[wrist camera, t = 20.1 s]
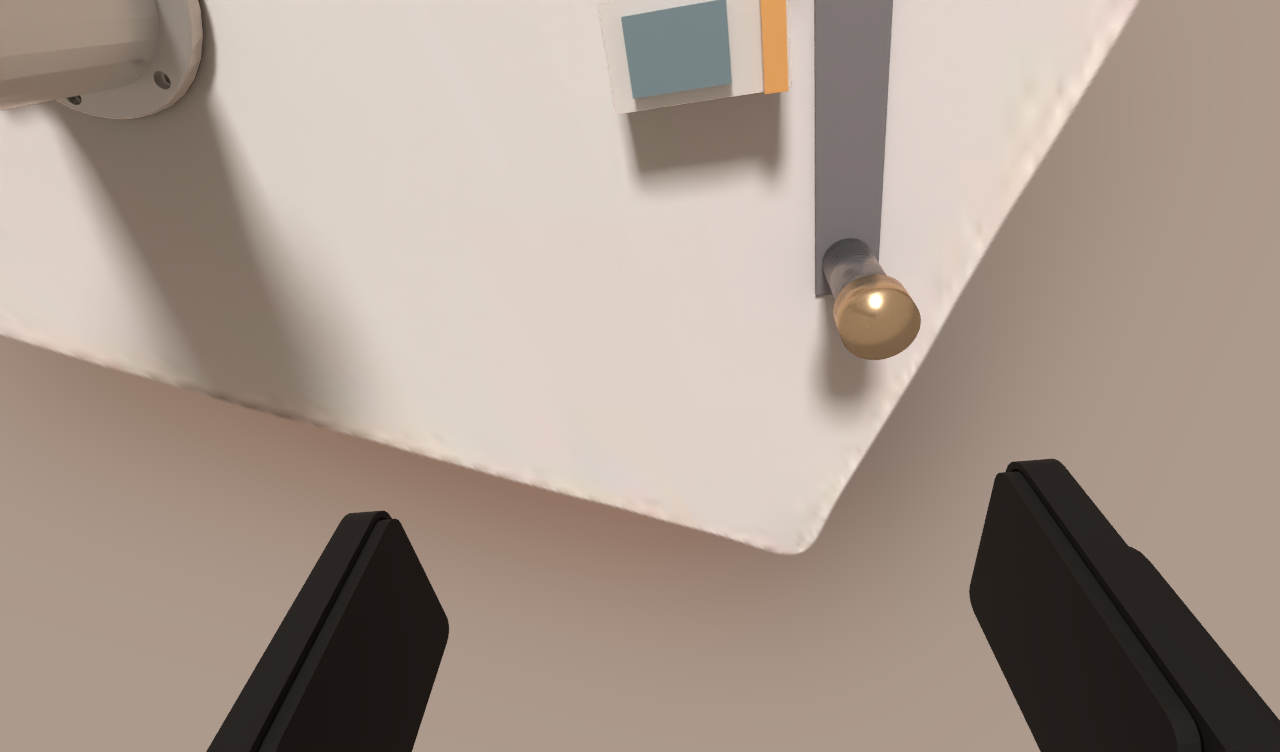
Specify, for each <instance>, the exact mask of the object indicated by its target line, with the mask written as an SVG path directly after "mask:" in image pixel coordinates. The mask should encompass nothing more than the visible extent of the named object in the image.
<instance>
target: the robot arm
mask: <svg viewBox="0 0 1280 752" xmlns="http://www.w3.org/2000/svg"><path fill="white" fill-rule="evenodd" d="M202 43H203V30H202V19H201V10H200V6H199V2H198V0H0V110H5V109H11V108H16V107H21V106H26V105H31V104H37V103H42V102H47V101H52V100H55V101H57V102H59V103H61V104H63V105H65V106H67V107H69V108H71V109H74V110H77V111H80V112H83V113H86V114H89V115H92V116H96V117H102V118H109V119H135V118H139V117H143V116H147V115H151V114H155V113H157V112H160V111H162V110H164V109H166V108H168V107H170V106H172V105H173V104H174V103H175V102H177V101H178V100H179V99H180V98H181V97H182V96H183V95H185V93H186V92H187V90H188V88H189V87H190V85H191V84H192V82H193V81H194V79H195V76H196V73H197V70H198V67H199V64H200V61H201V54H202ZM969 593H970V600H971V605H972V608H973V611H974V613H975V615H976V617H977V619H978V622H979V624H980V626H981V628H982V630H983V632H984V634H985V636H986V638H987V640H988V642H989V644H990V647H991V649H992V651H993V653H994V655H995V657H996V659H997V661H998V663H999V665H1000V668H1001V670H1002V671H1003V674H1004V676H1005V678H1006V680H1007V682H1008V684H1009V686H1010V688H1011V690H1012V692H1013V695H1014V697H1015V699H1016V701H1017V703H1018V705H1019V707H1020V709H1021V711H1022V713H1023V715H1024V718H1025V720H1026V722H1027V724H1028V726H1029V728H1030V730H1031V732H1032V734H1033V736H1034V738H1035V741H1036V743H1037V745H1038V747H1039V749H1040V751H1041V752H1280V720H1279V719H1278V718H1277V717H1276V715H1275V714H1274V713H1273V712H1272V711H1271V709H1270V708H1269V707H1268V706H1267V704H1266V703H1265V702H1264V701H1263V699H1262V698H1261V697H1260V696H1259V695H1258V693H1257V692H1256V691H1255V690H1254V689H1253V687H1252V686H1251V685H1250V683H1249V682H1248V681H1247V680H1246V679H1245V677H1244V676H1243V675H1242V674H1241V673H1240V671H1239V670H1238V669H1237V668H1236V666H1235V665H1234V664H1233V663H1232V662H1231V660H1230V659H1229V658H1228V657H1227V655H1226V654H1225V653H1224V652H1223V650H1222V649H1221V648H1220V647H1219V646H1218V644H1217V643H1216V642H1215V641H1214V639H1213V638H1212V637H1211V636H1210V634H1209V633H1208V632H1207V631H1206V630H1205V628H1204V627H1203V626H1202V625H1201V623H1200V622H1199V621H1198V620H1197V618H1196V617H1195V616H1194V615H1193V614H1192V612H1191V611H1190V610H1189V609H1188V607H1187V606H1186V605H1185V604H1184V603H1183V601H1182V600H1181V599H1180V598H1179V596H1178V595H1177V594H1176V593H1175V591H1174V590H1173V589H1172V588H1171V587H1170V585H1169V584H1168V583H1167V582H1166V580H1165V579H1164V578H1163V577H1162V576H1161V574H1160V573H1159V572H1158V571H1157V569H1156V568H1155V567H1154V566H1153V565H1152V564H1151V562H1150V561H1149V560H1148V559H1147V558H1146V557H1145V556H1144V555H1143V554H1142V553H1141V552H1139V551H1137V550H1136V549H1134V548H1132V547H1129V546H1128V545H1127V544H1126V543H1125V541H1124V540H1123V539H1122V538H1121V536H1120V535H1119V534H1118V533H1117V531H1116V530H1115V529H1114V528H1113V526H1112V525H1111V524H1110V523H1109V521H1108V520H1107V519H1106V518H1105V516H1104V515H1103V514H1102V513H1101V511H1100V510H1099V509H1098V508H1097V506H1096V505H1095V504H1094V503H1093V501H1092V500H1091V499H1090V498H1089V496H1088V495H1087V494H1086V493H1085V492H1084V490H1083V489H1082V488H1081V486H1080V485H1079V484H1078V483H1077V481H1076V480H1075V479H1074V478H1073V476H1072V475H1071V474H1070V473H1069V471H1068V470H1067V469H1066V468H1065V466H1064V465H1063V464H1062V463H1060V462H1059V461H1058V460H1055V459H1044V460H1033V461H1018V462H1011V463H1010V464H1009V465H1008V467H1007V469H1006V472H1004V473H998V474H997V475H996V478H995V481H994V485H993V490H992V494H991V498H990V502H989V507H988V511H987V515H986V519H985V524H984V528H983V533H982V536H981V541H980V545H979V549H978V554H977V558H976V562H975V566H974V571H973V575H972V579H971V584H970V590H969ZM448 634H449V624H448V619H447V617H446V615H445V612H444V610H443V608H442V606H441V604H440V602H439V600H438V598H437V596H436V594H435V592H434V590H433V588H432V586H431V584H430V582H429V580H428V578H427V576H426V574H425V571H424V569H423V567H422V565H421V564H420V561H419V559H418V557H417V555H416V553H415V551H414V549H413V547H412V545H411V543H410V541H409V539H408V537H407V535H406V533H405V531H404V529H403V527H402V525H401V523H400V522H399V520H397V519H392V518H391V517H390V515H389V514H388V513H387V512H385V511H374V512H361V513H350V514H348V515H346V516H345V517H344V518H343V519H342V521H341V522H340V524H339V525H338V527H337V529H336V531H335V532H334V534H333V536H332V538H331V539H330V541H329V543H328V544H327V546H326V548H325V550H324V551H323V553H322V555H321V556H320V558H319V560H318V561H317V563H316V565H315V567H314V568H313V570H312V572H311V574H310V575H309V577H308V579H307V580H306V582H305V584H304V585H303V587H302V589H301V591H300V592H299V594H298V596H297V597H296V599H295V601H294V603H293V604H292V606H291V608H290V609H289V611H288V613H287V615H286V616H285V618H284V620H283V621H282V623H281V625H280V627H279V628H278V630H277V632H276V633H275V635H274V637H273V639H272V640H271V642H270V644H269V645H268V647H267V649H266V651H265V652H264V654H263V656H262V657H261V659H260V661H259V663H258V664H257V666H256V668H255V670H254V671H253V673H252V675H251V676H250V678H249V680H248V682H247V683H246V685H245V687H244V688H243V690H242V692H241V693H240V695H239V697H238V699H237V700H236V702H235V704H234V705H233V707H232V709H231V711H230V712H229V714H228V716H227V717H226V719H225V721H224V722H223V724H222V726H221V728H220V729H219V731H218V733H217V734H216V736H215V738H214V740H213V741H212V743H211V745H210V746H209V748H208V750H207V752H412V749H413V746H414V743H415V740H416V737H417V734H418V730H419V727H420V724H421V721H422V718H423V715H424V712H425V709H426V706H427V702H428V699H429V696H430V693H431V690H432V687H433V684H434V681H435V678H436V674H437V672H438V668H439V665H440V662H441V659H442V656H443V653H444V649H445V647H446V644H447V639H448Z"/></svg>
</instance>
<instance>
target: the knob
mask: <svg viewBox="0 0 1280 752" xmlns="http://www.w3.org/2000/svg"><path fill="white" fill-rule="evenodd" d="M822 269H823V272H824V274H825V277H826V279H827V282H828V284H829V286H830V289H831V291H832V294H833V296H834V299H835V303H834V307H833V316H834V320H835V323H836V326H837V328H838V331H839V333H840V336H841V339H842V341H843V343H844V345H845V347H846V348H847V349H848V350H849V351H850V352H851V353H853V354H854V355H856V356H858V357H860V358H864V359H869V360H880V359H885V358H889V357H892V356H894V355H897V354H899V353H900V352H902V351H903V350H905V349H906V348H907V347H908V346H909V345H910V344H911V343H912V342H913V341H914V339H915V338H916V336H917V334H918V332H919V329H920V323H921V318H920V313H919V310H918V308H917V306H916V305H915V303H914V302H913V300H912V299H911V297H910V296H909V294H908V292H907V291H906V289H905V288H904V287H903V285H902V284H901V283H900V282H899V281H897V280H896V279H894V278H892V277H889V276H886V274H885V272H884V271H883V269H882V268H881V266H880V264H879V263H878V261H877V259H876V258H875V256H874V255H873V253H872V251H871V250H870V248H869V247H868V245H867V244H866V243H864V242H863V241H861V240H859V239H855V238H846V239H842V240H839V241H837V242H835V243H834V244H832V245H831V246H830V247H829V248H828V249H827V251H826V252H825V254H824V256H823V259H822Z"/></svg>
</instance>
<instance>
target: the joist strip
mask: <svg viewBox="0 0 1280 752" xmlns="http://www.w3.org/2000/svg"><path fill="white" fill-rule="evenodd" d="M892 7H893V0H815V294H816V296H817V295H827V294H832V291H831V289H830V286H829V284H828V282H827V279H826V277H825V274H824V272H823V269H822V259H823V256H824V254H825V252H826V251H827V249H828V248H829V247H830V246H831V245H832V244H834V243H835V242H837V241H839V240H842V239H846V238H855V239H859V240H861V241H863V242H864V243H866V244H867V245H868V247H869V248H870V250H871V251H872V253H873V255H874V256H875V258H876V259H877V261H878V263H879V246H880V227H881V209H882V191H883V172H884V154H885V136H886V117H887V99H888V81H889V62H890V44H891V26H892Z"/></svg>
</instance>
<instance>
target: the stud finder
mask: <svg viewBox="0 0 1280 752" xmlns="http://www.w3.org/2000/svg"><path fill="white" fill-rule="evenodd" d="M597 6H598V12H599V18H600V24H601V30H602V36H603V42H604V48H605V54H606V61H607V67H608V73H609V79H610V85H611V91H612V97H613V103H614V109H615V115H616V114H623V113H629V112H636V111H642V110H649V109H655V108H662V107H668V106H675V105H681V104H688V103H695V102H701V101H708V100H714V99H721V98H727V97H734V96H740V95H747V94H753V93H760V92H764V93H765V94H771V93H777V92H784V91H788V88H791V66H790V25H789V0H608V1H604V2H600V3H597Z"/></svg>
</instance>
